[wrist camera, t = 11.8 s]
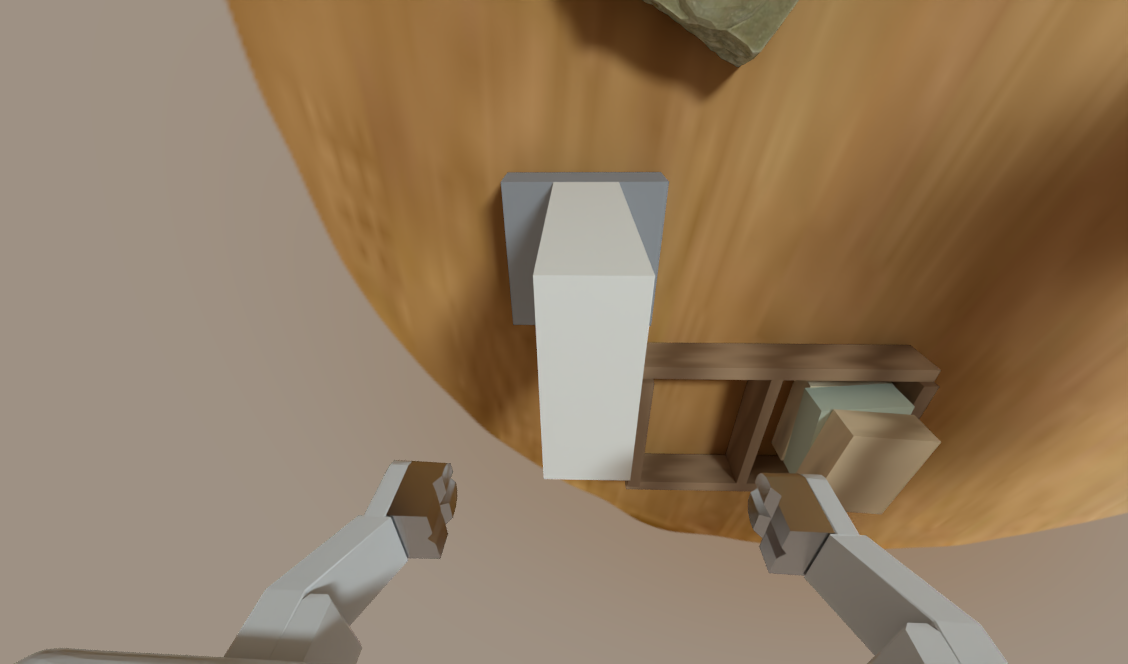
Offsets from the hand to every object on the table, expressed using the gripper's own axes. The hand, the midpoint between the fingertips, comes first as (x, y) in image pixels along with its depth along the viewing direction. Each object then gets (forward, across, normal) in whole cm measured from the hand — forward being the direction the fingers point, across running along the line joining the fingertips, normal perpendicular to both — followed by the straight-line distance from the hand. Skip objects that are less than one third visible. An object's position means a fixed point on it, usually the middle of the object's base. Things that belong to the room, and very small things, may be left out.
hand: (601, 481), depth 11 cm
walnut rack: (+18, -13, +14) cm, 27 cm away
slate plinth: (+18, +1, 0) cm, 18 cm away
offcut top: (+14, -19, +14) cm, 28 cm away
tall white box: (+16, 0, 0) cm, 16 cm away
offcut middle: (+16, -19, +14) cm, 29 cm away
